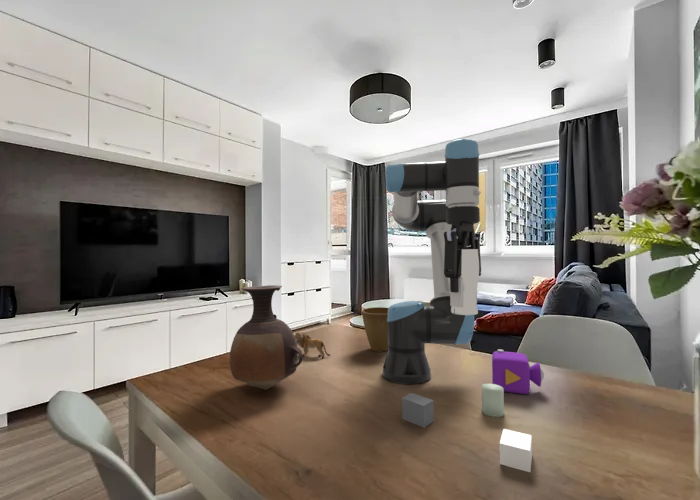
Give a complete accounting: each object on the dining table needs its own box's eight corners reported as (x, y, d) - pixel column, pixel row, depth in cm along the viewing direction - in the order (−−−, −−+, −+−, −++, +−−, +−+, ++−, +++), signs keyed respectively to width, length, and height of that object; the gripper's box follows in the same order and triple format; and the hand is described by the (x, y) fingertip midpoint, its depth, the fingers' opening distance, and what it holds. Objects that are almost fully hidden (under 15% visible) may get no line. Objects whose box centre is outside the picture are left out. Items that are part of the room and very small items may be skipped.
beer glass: (479, 311, 82) (478, 249, 82) (480, 316, 76) (479, 249, 76) (449, 309, 85) (448, 249, 85) (448, 314, 78) (446, 249, 78)
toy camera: (549, 398, 91) (549, 360, 91) (495, 394, 94) (494, 358, 94) (536, 382, 101) (535, 349, 102) (487, 380, 104) (487, 347, 104)
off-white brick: (530, 473, 61) (530, 450, 61) (499, 464, 63) (499, 443, 63) (532, 455, 66) (531, 435, 66) (503, 448, 68) (503, 428, 68)
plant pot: (354, 349, 139) (354, 310, 139) (379, 342, 149) (378, 306, 149) (382, 357, 128) (381, 314, 128) (406, 349, 138) (405, 309, 138)
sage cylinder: (478, 412, 83) (477, 387, 84) (487, 405, 87) (486, 382, 87) (499, 419, 80) (498, 393, 80) (507, 411, 83) (506, 387, 84)
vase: (315, 389, 99) (314, 285, 99) (256, 412, 85) (255, 291, 85) (270, 371, 115) (269, 282, 115) (214, 388, 101) (213, 286, 101)
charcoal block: (402, 419, 81) (402, 398, 81) (411, 413, 83) (411, 393, 84) (424, 428, 76) (423, 405, 76) (433, 421, 79) (433, 400, 79)
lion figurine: (292, 356, 131) (291, 333, 131) (297, 352, 136) (297, 329, 136) (328, 359, 127) (327, 335, 127) (332, 355, 132) (332, 331, 132)
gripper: (457, 201, 71) (459, 312, 71) (495, 208, 85) (496, 301, 84) (426, 205, 76) (427, 308, 76) (466, 211, 90) (467, 298, 90)
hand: (464, 304), depth 80 cm, fingers closed on beer glass, 6 cm apart
